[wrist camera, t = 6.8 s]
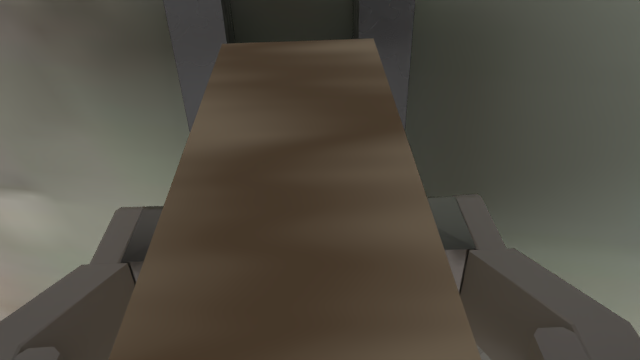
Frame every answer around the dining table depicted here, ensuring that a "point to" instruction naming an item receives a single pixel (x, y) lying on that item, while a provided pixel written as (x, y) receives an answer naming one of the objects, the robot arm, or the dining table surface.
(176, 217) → the peg
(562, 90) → the dining table surface
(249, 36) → the dining table surface
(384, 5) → the rail
